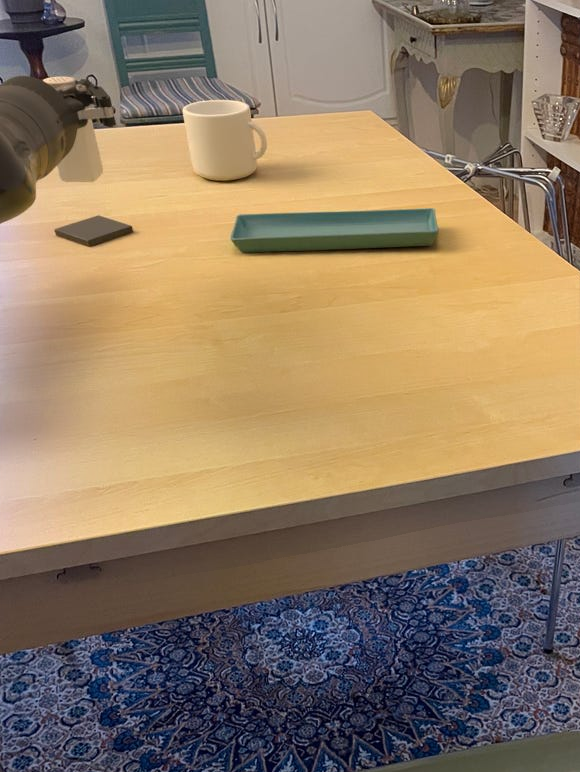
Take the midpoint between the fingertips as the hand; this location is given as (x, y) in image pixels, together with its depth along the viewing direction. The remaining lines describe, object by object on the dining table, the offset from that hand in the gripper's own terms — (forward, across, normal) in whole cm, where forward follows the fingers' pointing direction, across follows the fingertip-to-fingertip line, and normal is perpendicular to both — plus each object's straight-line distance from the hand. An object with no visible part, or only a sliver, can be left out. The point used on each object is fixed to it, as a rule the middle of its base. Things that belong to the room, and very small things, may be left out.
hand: (69, 90), depth 100 cm
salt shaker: (-3, 0, +8) cm, 9 cm away
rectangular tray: (+11, -26, +20) cm, 34 cm away
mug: (+40, -9, +20) cm, 46 cm away
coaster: (+14, +6, +20) cm, 25 cm away
